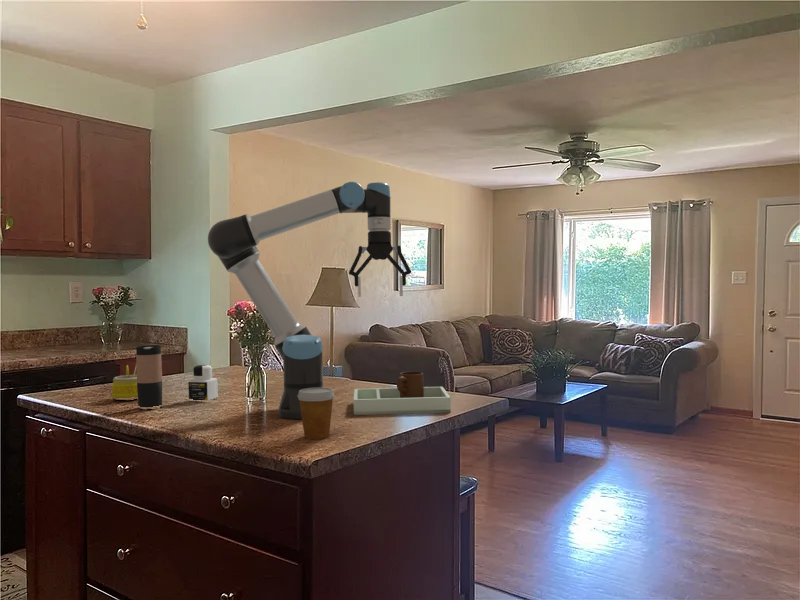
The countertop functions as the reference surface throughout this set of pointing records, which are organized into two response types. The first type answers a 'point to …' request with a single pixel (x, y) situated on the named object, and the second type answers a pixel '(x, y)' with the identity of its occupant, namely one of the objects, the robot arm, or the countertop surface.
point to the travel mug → (149, 375)
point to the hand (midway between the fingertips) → (380, 296)
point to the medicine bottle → (203, 384)
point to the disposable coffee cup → (316, 411)
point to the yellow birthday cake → (125, 385)
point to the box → (400, 401)
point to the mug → (411, 385)
